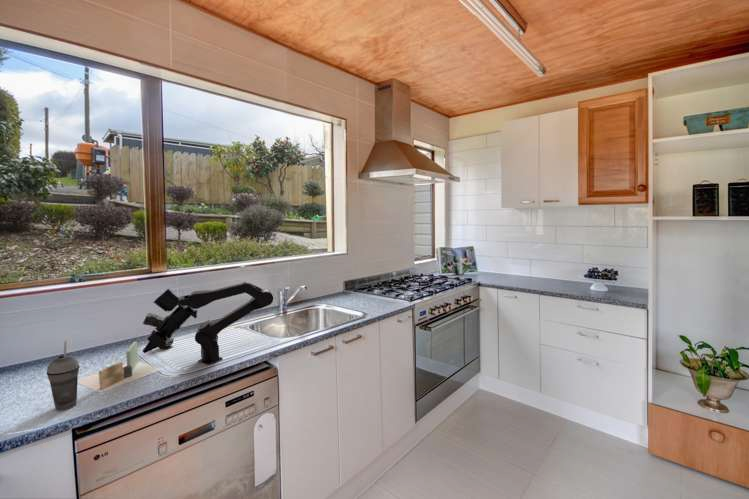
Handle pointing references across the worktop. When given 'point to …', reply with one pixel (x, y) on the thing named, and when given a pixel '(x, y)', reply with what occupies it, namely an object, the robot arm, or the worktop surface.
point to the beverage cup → (63, 380)
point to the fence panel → (132, 355)
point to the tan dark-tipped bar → (113, 374)
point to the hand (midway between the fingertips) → (143, 352)
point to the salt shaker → (170, 342)
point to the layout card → (137, 372)
